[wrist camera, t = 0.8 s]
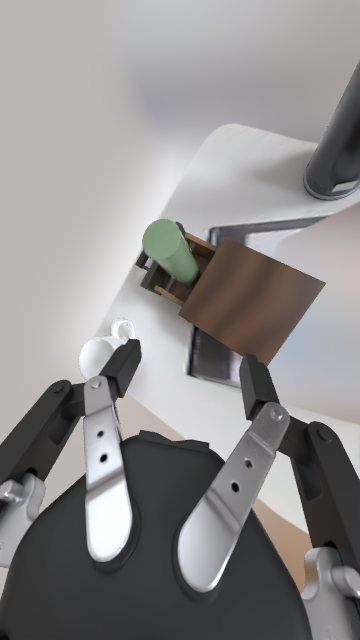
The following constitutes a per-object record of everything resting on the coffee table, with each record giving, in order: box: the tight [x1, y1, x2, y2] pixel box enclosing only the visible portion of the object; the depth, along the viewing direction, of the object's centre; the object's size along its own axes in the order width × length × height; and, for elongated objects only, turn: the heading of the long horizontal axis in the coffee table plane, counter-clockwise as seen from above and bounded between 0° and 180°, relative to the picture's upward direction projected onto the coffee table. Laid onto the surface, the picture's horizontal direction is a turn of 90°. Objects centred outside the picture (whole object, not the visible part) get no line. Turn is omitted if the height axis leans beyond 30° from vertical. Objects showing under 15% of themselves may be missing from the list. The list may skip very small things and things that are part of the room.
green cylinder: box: [142, 219, 202, 290], centre depth 26 cm, size 5×5×16 cm
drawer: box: [135, 222, 218, 307], centre depth 32 cm, size 18×13×7 cm
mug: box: [79, 318, 142, 381], centre depth 34 cm, size 12×8×11 cm
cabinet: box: [178, 237, 326, 367], centre depth 29 cm, size 15×14×9 cm
